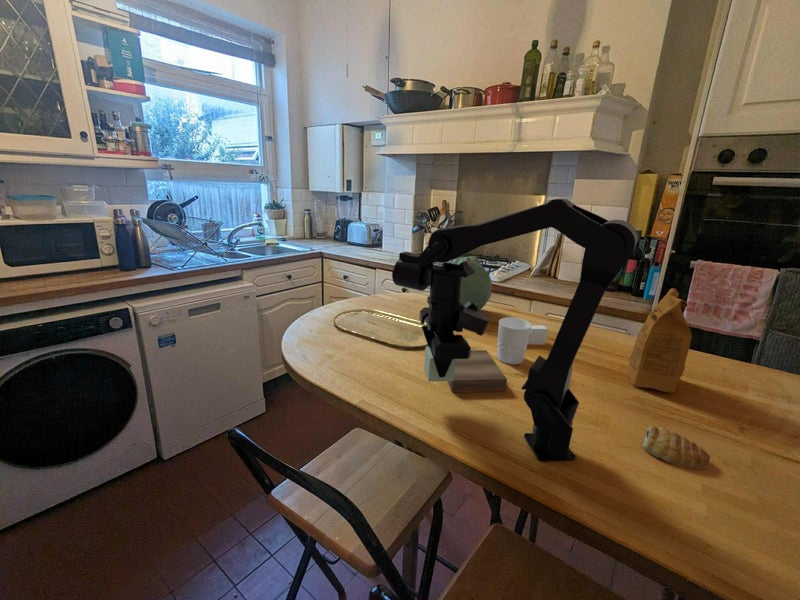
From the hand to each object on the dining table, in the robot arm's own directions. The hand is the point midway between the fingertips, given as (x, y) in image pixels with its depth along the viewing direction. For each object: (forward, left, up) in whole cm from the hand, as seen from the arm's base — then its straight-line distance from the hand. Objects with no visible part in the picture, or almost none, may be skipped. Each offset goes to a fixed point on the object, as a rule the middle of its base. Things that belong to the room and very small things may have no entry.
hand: (439, 369), depth 74 cm
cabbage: (+53, -20, -8) cm, 57 cm away
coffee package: (+7, -53, -8) cm, 54 cm away
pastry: (-16, -38, -8) cm, 43 cm away
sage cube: (0, 0, -1) cm, 1 cm away
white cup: (+19, -23, -8) cm, 31 cm away
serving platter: (+39, +8, -8) cm, 41 cm away
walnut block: (+11, -10, -8) cm, 17 cm away
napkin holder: (+28, -32, -8) cm, 43 cm away
